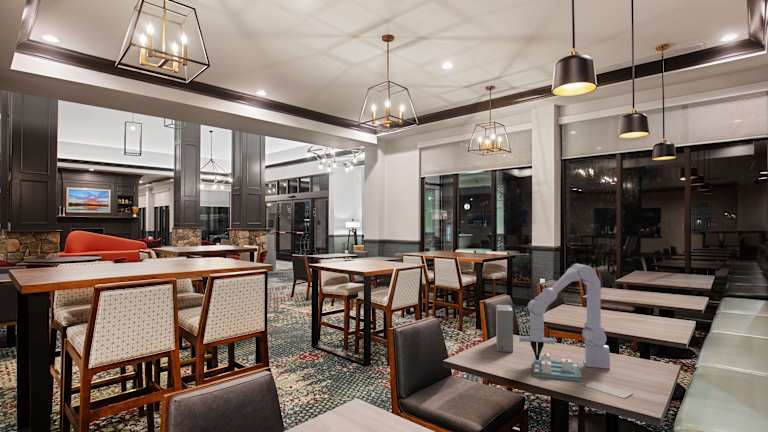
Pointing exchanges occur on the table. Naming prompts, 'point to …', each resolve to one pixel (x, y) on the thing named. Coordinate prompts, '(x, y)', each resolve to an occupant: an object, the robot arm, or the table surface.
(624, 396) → the smartphone
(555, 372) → the switch board
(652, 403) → the table surface
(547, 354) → the tab
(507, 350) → the hard drive box
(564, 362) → the tab
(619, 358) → the table surface
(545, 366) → the tab
